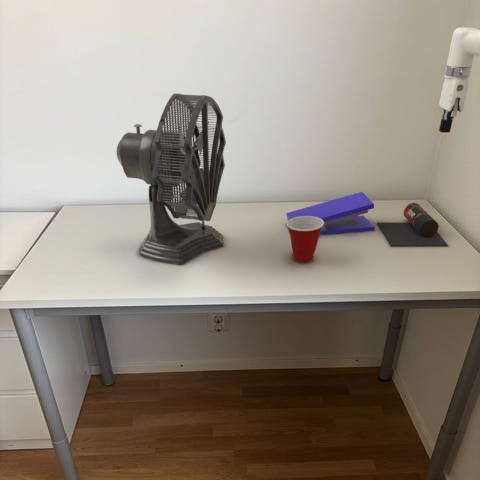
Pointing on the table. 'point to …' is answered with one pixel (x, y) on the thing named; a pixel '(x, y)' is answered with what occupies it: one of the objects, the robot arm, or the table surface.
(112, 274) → the table surface
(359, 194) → the stapler
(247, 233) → the table surface
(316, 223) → the plastic cup
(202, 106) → the desk fan
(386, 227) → the mat
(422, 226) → the deodorant
